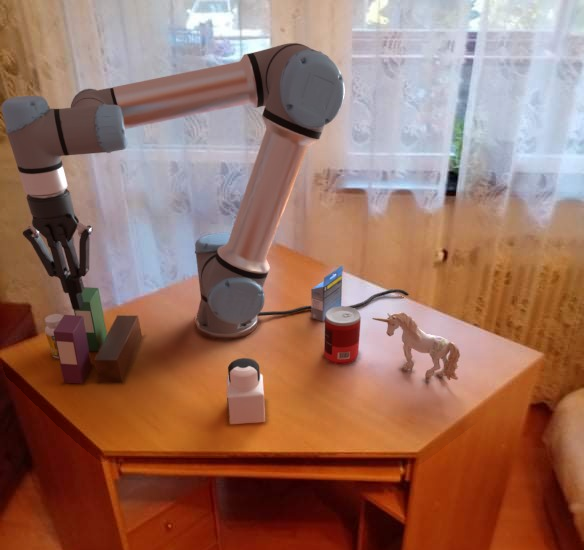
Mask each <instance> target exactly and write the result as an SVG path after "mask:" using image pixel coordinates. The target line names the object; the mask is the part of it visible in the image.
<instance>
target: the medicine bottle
mask: <svg viewBox="0 0 584 550" xmlns="http://www.w3.org/2000/svg"><path fill="white" fill-rule="evenodd" d="M227 373H228V375H227V376H226V402H227V411H228V421H229V423H228V424H229V425H243V424H256V423H257V424H258V423H265V422H266V409H265V390H264V389H265V388H264V376H263V374H262V373H261V372H260V364H259V363H258V362H257V361H256V360H255V359H253V358H248V357H242V358H237V359H235V360H232V361H231V362H230V364H229V365H228V367H227Z"/></svg>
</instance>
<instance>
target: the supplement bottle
mask: <svg viewBox="0 0 584 550" xmlns="http://www.w3.org/2000/svg"><path fill="white" fill-rule="evenodd" d="M63 316H64V315H63V314H62V313H52V314H49V315H47V316H46V317H45V318H44V322H45V325H46V326H45V328H44V333H45V336H46V339H47V342H48V345H49V348H50V351H51V354H52V357H54V358H55V359H58V360H59V357H58V352H57V347H56V342H55V337H54V332H53V331H54V330H55V328H56V327H57V325H58V324H59V322H60V321H61V319H62V318H63Z"/></svg>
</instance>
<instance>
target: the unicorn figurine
mask: <svg viewBox="0 0 584 550" xmlns="http://www.w3.org/2000/svg"><path fill="white" fill-rule="evenodd" d="M387 316H388V317H387V318H379V317H372V318H371V319H372V320H375V321H379V322H382V323H387V326H386V336H388V337H393V335H394V334H395V330H397V329H399V328H400V329H401V330H402V334H401V341H402V343H403V344H402V350H403V354H404V358H405V359H406V361H407V362H406V364H404V365H403V366H402V367H401V369H402V371H403V372H407V371H408V370H409V371H410V372H412V371H413V369H414V366H415V365H414V364H415V363H414V362H413V360H412V359H413V354H412V349H413V350H414V351H417V352H418V353H420V354H429V356H430V358H431V362H432V363H433V367H430V368H428V369H427V370H426V371H425V378H424V379H425V381H429V380H430V379H431V378H432V377H433V376H437V378H441V377H446V378H447V380H448V381H450V380H451V379H453V380H458V379H459V376H457V373H456V370H457V369H458V367H459V365H458V362H459V359H460V357H461V354H460V348H459V347H458V346H457V345H456V343H455V342H450V341H449V340H448V339H446V338H444V337H443V336H439V335H432V334H429V333H427V332H424V331H423V330H422V329H420V326H419V325H418V323H417V322H416V321H415V320H414V318H412V316H411V315H408V314H407V313H405V312H400V311H399V312H395V313H392V314H390V313H388V312H387ZM440 360H442V363H443V364H442V365H443V366H442V369H441V365H440ZM440 369H441V370H440ZM438 370H439V371H438ZM436 371H437V372H436ZM435 372H436V373H435Z"/></svg>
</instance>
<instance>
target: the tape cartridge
mask: <svg viewBox="0 0 584 550" xmlns="http://www.w3.org/2000/svg"><path fill="white" fill-rule="evenodd" d="M343 270H344V264H341V266H339V267H337V268H336V269H335V270H333V271H332V272H330V273H328V274H327V275H326V276H324V277H323V280H322V281H321V282H319V283H318V284H316V285H315V286H314V287H312V288H311V291H310V294H311V295H310V300H311V301H310V303H311V304H310V306H311V309H310V318H311V319H313V320H316V321H319V322H325V314H326V312H327V311H328V310H329V309H331V308H334V307H340V306H342V294H343V293H342V292H343V290H342V289H343V272H344V271H343Z"/></svg>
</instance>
